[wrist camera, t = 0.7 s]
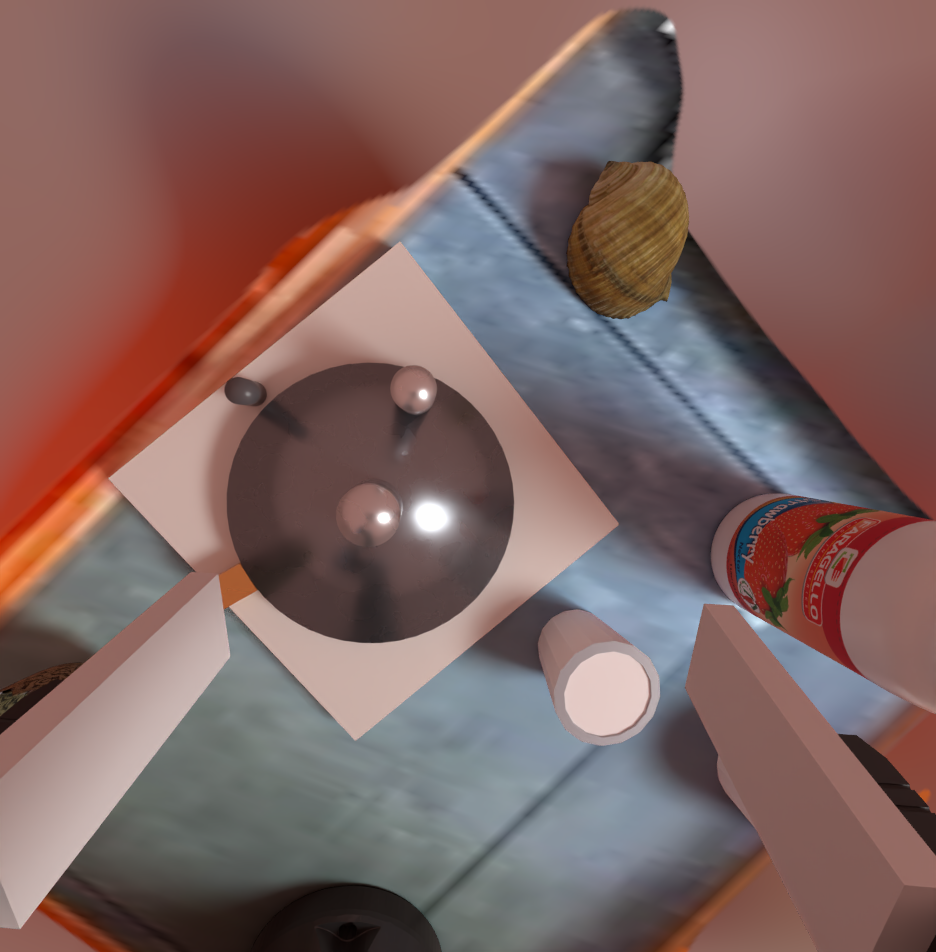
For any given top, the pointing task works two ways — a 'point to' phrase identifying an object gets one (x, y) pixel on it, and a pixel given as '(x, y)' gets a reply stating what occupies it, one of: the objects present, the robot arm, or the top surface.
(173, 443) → the base plate
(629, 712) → the pale pink cylinder
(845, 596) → the fruit juice
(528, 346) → the top surface
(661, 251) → the seashell
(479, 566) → the flange plate
